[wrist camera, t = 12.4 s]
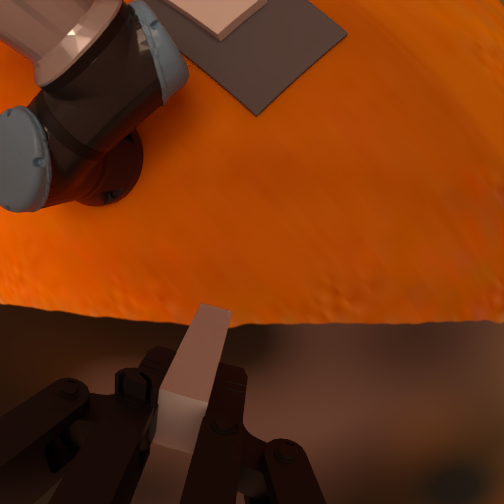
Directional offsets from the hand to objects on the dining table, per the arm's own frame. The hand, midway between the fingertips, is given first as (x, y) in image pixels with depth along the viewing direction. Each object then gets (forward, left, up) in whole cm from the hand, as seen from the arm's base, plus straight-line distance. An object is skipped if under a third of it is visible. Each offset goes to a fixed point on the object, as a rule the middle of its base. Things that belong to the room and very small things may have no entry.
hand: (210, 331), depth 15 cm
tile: (-9, +30, -32) cm, 44 cm away
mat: (-11, +31, -34) cm, 48 cm away
